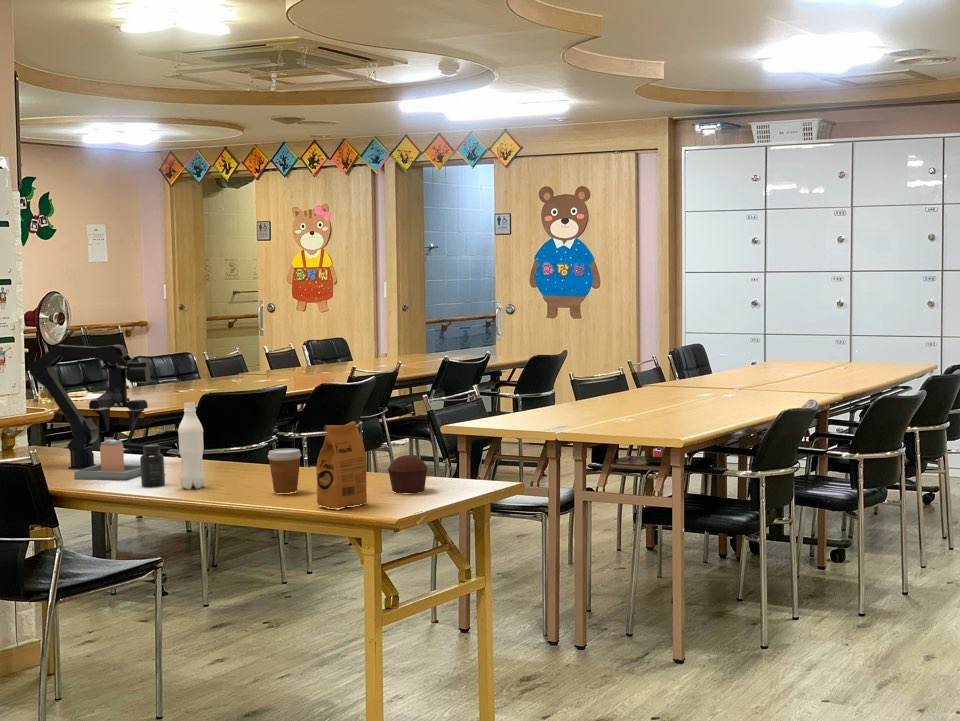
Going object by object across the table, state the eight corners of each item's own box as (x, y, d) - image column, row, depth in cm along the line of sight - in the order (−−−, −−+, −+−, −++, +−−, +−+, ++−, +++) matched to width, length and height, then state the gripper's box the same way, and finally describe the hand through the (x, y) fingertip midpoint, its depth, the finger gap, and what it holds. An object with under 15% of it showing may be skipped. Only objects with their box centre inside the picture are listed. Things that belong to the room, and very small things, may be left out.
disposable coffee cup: (262, 492, 334) (261, 450, 333) (292, 488, 340) (291, 447, 339) (278, 497, 327) (277, 454, 326) (309, 493, 332) (307, 450, 332)
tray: (74, 479, 365) (74, 471, 365) (99, 471, 378) (99, 464, 378) (126, 480, 360) (126, 472, 360) (150, 472, 374) (150, 465, 374)
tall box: (101, 474, 367) (99, 442, 367) (110, 472, 372) (108, 440, 372) (115, 474, 366) (114, 442, 365) (124, 472, 371) (122, 440, 370)
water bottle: (210, 486, 347) (207, 401, 345) (196, 490, 340) (193, 404, 339) (189, 485, 349) (185, 401, 348) (175, 489, 343) (171, 403, 341)
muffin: (390, 488, 338) (389, 453, 337) (429, 487, 337) (428, 452, 337) (386, 495, 326) (385, 459, 325) (427, 494, 326) (426, 458, 325)
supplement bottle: (168, 483, 353) (167, 443, 352) (160, 487, 347) (158, 447, 346) (146, 483, 354) (144, 443, 353) (137, 487, 347) (135, 447, 346)
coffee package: (311, 507, 311) (308, 424, 309) (347, 500, 320) (345, 419, 318) (335, 512, 304) (333, 427, 303) (372, 504, 313) (369, 422, 312)
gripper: (77, 385, 380) (79, 433, 382) (128, 385, 375) (129, 434, 376) (98, 382, 391) (100, 428, 392) (147, 382, 386) (149, 430, 387)
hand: (119, 430), depth 387 cm, fingers open, 9 cm apart
